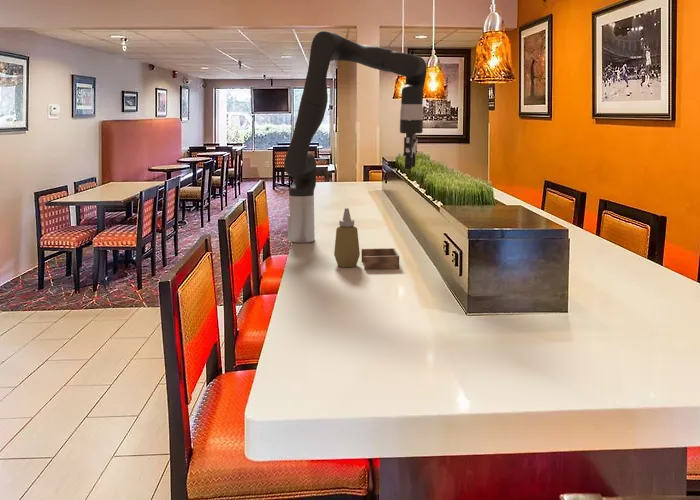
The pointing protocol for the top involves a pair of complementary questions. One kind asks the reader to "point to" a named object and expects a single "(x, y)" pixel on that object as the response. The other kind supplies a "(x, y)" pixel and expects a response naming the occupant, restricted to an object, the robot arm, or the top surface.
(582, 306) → the top surface
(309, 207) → the robot arm
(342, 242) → the squeeze bottle
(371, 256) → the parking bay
